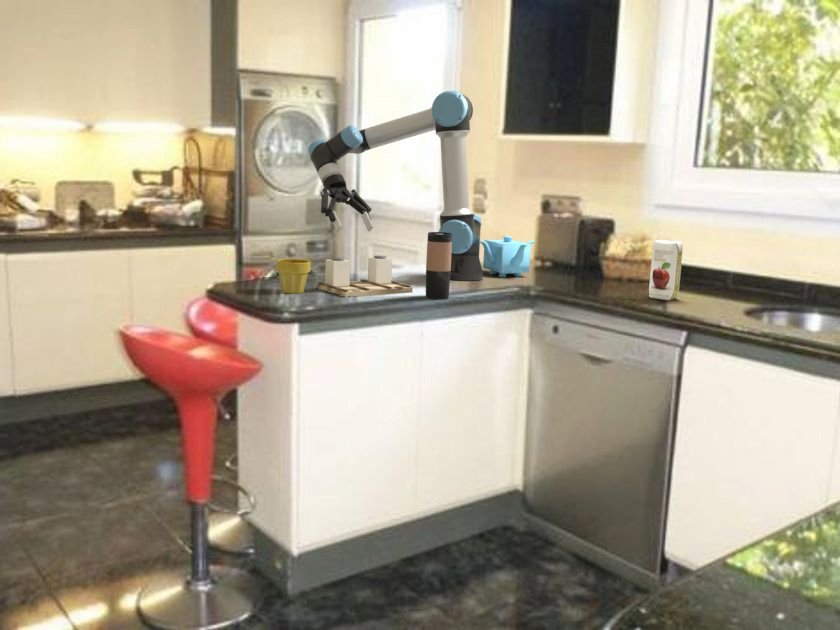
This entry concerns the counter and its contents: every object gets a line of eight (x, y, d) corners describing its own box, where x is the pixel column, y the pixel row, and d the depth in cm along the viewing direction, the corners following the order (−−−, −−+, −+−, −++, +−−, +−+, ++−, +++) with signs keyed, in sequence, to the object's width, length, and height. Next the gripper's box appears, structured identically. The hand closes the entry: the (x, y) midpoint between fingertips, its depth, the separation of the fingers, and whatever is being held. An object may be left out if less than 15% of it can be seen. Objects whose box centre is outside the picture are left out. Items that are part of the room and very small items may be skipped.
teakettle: (488, 270, 327) (490, 232, 325) (535, 274, 321) (538, 236, 318) (475, 276, 310) (477, 236, 307) (524, 280, 304) (527, 240, 301)
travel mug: (450, 296, 263) (453, 232, 259) (448, 300, 256) (451, 234, 252) (425, 294, 264) (428, 231, 260) (423, 298, 256) (426, 233, 253)
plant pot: (317, 292, 260) (317, 260, 259) (294, 295, 252) (294, 263, 250) (292, 288, 266) (292, 257, 264) (269, 291, 258) (269, 260, 256)
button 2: (367, 281, 275) (368, 255, 273) (382, 280, 278) (383, 255, 277) (375, 284, 271) (376, 257, 269) (391, 282, 274) (392, 256, 273)
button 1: (325, 284, 265) (325, 257, 264) (341, 283, 269) (342, 256, 267) (333, 286, 261) (333, 259, 260) (349, 285, 265) (350, 258, 263)
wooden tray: (316, 288, 267) (316, 281, 267) (381, 283, 282) (381, 277, 281) (345, 297, 253) (345, 290, 252) (412, 292, 268) (412, 285, 267)
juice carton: (655, 295, 282) (660, 239, 279) (680, 298, 277) (685, 241, 274) (646, 297, 277) (651, 240, 273) (670, 301, 271) (676, 243, 268)
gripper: (355, 187, 301) (378, 235, 293) (297, 185, 284) (320, 235, 276) (365, 174, 296) (389, 222, 288) (307, 170, 279) (330, 221, 271)
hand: (355, 229), depth 282 cm, fingers open, 13 cm apart
